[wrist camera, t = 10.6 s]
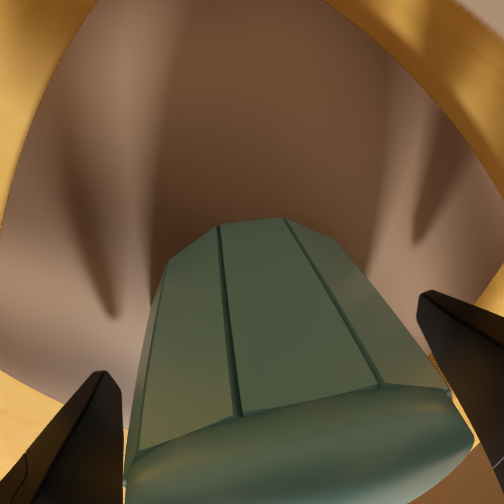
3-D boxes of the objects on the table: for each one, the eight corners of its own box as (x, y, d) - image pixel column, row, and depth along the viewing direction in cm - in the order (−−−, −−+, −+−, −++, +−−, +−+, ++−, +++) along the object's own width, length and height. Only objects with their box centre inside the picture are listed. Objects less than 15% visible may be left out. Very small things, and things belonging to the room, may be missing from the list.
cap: (380, 321, 10) (470, 467, 4) (236, 404, 11) (259, 553, 5) (293, 172, 7) (477, 352, 2) (112, 303, 8) (53, 508, 3)
